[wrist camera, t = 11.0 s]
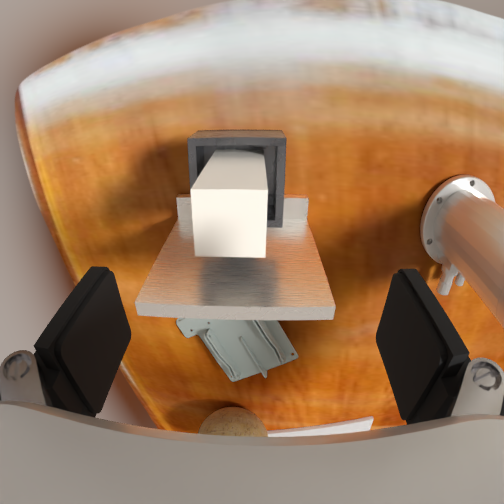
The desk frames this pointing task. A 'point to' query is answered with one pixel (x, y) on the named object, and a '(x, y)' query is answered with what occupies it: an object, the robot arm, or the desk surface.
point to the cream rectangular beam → (231, 205)
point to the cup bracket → (241, 268)
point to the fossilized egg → (233, 423)
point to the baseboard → (326, 428)
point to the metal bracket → (242, 344)
